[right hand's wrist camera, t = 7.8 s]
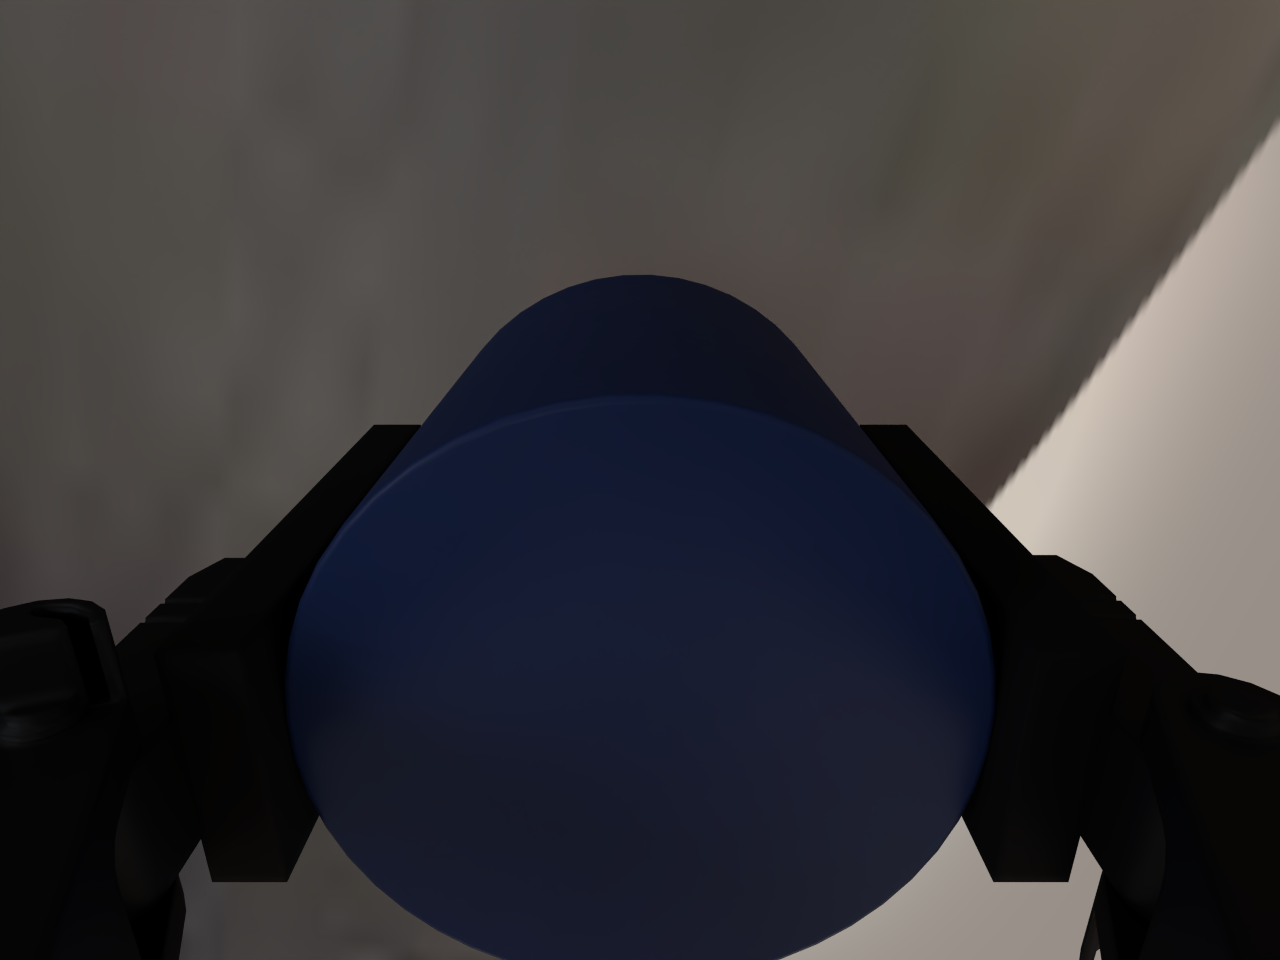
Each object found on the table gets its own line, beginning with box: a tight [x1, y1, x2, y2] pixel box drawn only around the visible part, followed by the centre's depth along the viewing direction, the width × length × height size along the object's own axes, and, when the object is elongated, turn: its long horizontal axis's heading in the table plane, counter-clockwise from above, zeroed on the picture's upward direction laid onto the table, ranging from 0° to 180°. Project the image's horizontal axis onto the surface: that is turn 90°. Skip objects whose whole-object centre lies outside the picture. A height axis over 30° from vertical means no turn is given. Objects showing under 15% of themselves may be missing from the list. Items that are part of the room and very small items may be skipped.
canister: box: [285, 275, 996, 960], centre depth 12 cm, size 7×7×7 cm
